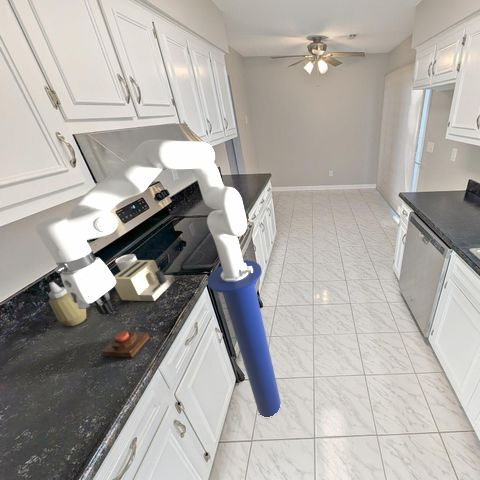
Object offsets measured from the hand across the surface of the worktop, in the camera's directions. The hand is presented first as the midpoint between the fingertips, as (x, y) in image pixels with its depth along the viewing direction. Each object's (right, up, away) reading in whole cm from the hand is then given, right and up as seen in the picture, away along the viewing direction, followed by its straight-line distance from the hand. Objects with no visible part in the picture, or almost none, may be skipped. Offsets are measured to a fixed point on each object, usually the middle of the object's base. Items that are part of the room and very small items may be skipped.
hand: (107, 312), depth 77 cm
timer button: (+1, -10, +5) cm, 11 cm away
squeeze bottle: (-28, -9, +19) cm, 35 cm away
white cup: (-25, +4, +45) cm, 52 cm away
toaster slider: (-4, +4, +33) cm, 34 cm away
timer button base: (+1, -13, +7) cm, 15 cm away
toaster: (-10, 0, +34) cm, 36 cm away
